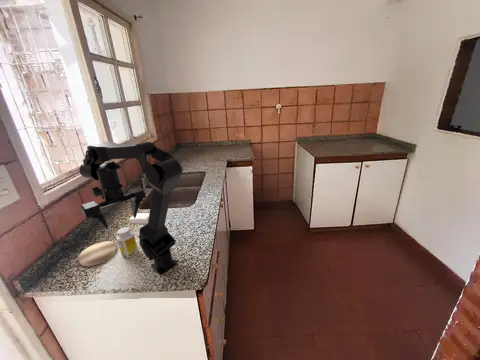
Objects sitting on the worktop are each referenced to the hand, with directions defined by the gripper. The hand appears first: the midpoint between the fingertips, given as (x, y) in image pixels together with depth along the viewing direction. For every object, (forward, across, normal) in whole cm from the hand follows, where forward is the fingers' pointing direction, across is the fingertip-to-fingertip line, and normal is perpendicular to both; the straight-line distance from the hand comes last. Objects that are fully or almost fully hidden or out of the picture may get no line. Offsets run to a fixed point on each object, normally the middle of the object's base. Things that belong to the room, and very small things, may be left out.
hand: (121, 222), depth 76 cm
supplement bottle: (+13, 0, 0) cm, 13 cm away
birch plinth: (+14, +8, -8) cm, 18 cm away
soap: (+14, -13, -20) cm, 28 cm away
